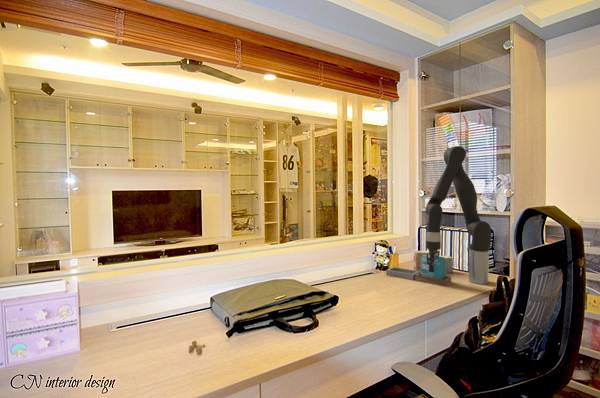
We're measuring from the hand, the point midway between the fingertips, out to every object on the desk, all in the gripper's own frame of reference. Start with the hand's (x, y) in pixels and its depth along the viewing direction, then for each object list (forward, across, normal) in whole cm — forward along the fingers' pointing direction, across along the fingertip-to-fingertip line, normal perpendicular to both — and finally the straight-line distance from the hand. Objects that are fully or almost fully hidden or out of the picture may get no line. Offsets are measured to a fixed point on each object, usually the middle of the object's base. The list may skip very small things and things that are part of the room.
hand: (433, 270), depth 172 cm
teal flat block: (+4, 0, 0) cm, 4 cm away
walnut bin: (+6, 0, 0) cm, 6 cm away
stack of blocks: (+6, +21, +7) cm, 23 cm away
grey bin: (+6, 0, +17) cm, 18 cm away
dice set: (+7, -124, +32) cm, 128 cm away
